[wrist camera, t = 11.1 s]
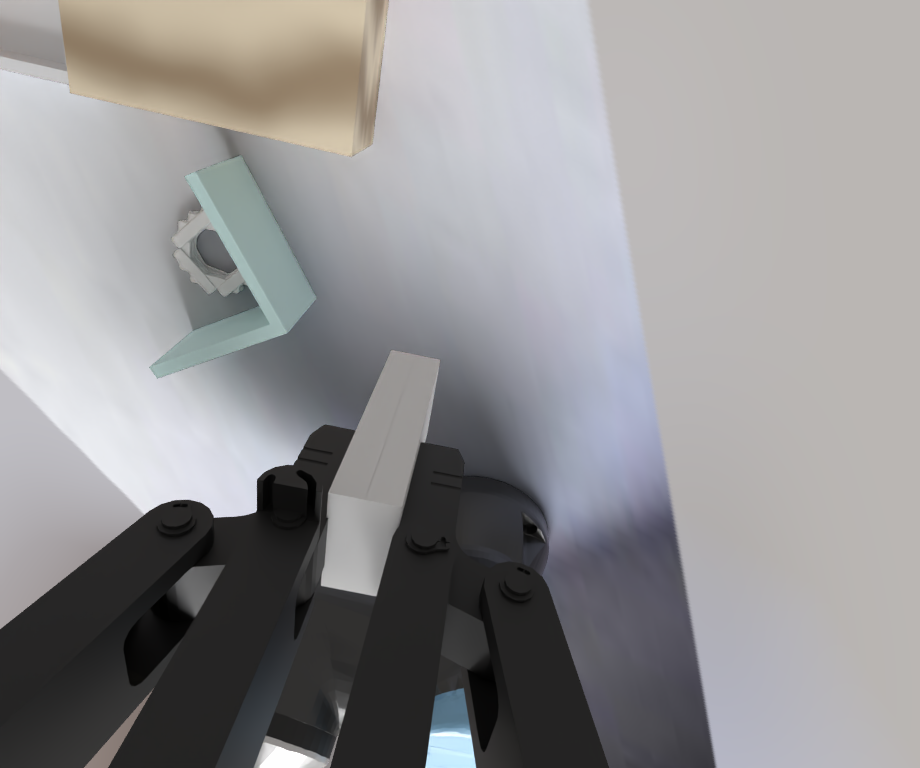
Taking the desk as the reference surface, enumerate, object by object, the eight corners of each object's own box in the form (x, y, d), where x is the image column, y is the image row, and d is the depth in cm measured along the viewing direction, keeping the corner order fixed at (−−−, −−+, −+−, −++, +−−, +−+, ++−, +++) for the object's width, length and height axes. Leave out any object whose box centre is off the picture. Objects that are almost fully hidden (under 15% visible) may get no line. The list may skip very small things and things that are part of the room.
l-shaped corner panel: (244, 154, 43) (195, 171, 37) (318, 296, 49) (287, 333, 42) (120, 209, 47) (55, 235, 40) (203, 337, 52) (157, 378, 45)
